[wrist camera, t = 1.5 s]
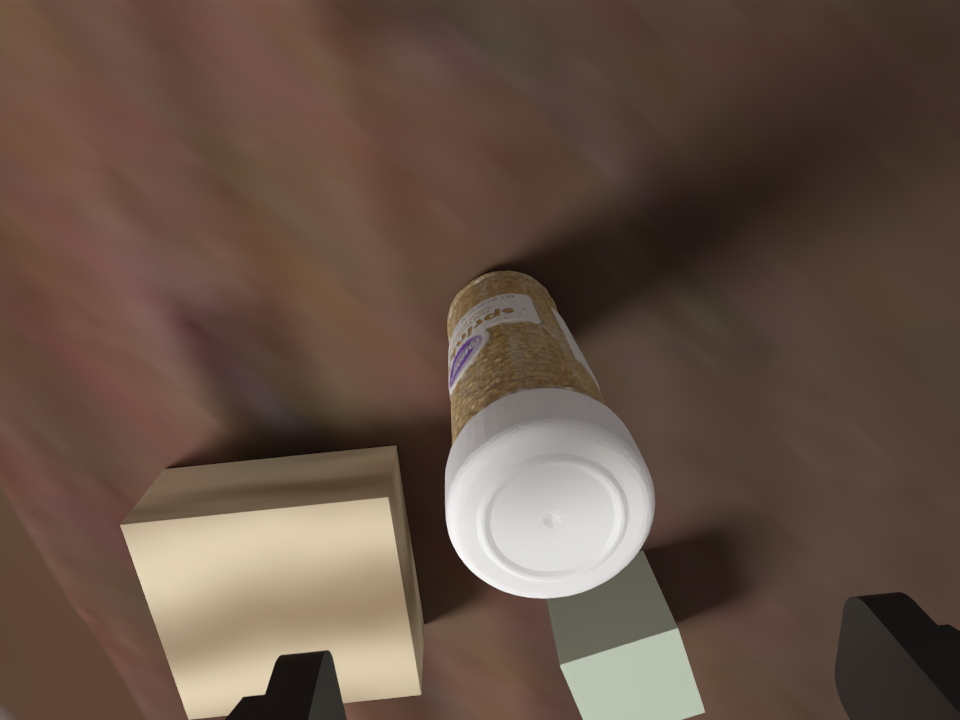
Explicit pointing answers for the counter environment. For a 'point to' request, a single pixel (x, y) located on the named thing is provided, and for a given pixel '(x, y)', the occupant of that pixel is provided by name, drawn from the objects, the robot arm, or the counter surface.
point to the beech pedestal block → (281, 574)
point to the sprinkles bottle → (535, 449)
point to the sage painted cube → (624, 650)
